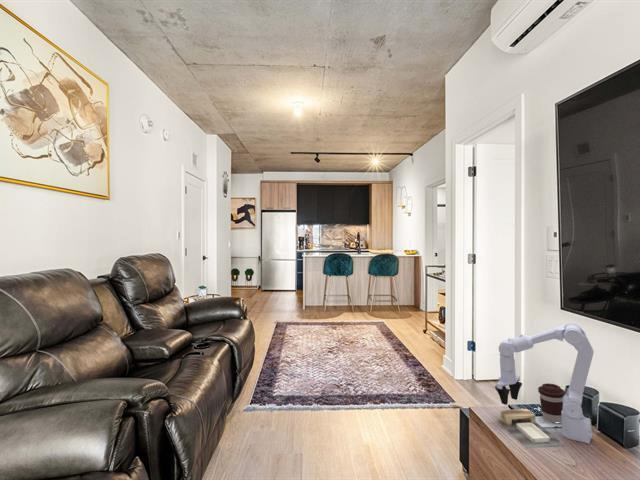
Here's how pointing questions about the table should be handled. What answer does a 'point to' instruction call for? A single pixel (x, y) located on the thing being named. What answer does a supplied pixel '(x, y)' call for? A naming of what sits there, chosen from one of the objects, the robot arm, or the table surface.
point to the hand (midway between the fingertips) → (509, 401)
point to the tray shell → (533, 433)
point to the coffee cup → (551, 402)
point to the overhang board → (524, 416)
